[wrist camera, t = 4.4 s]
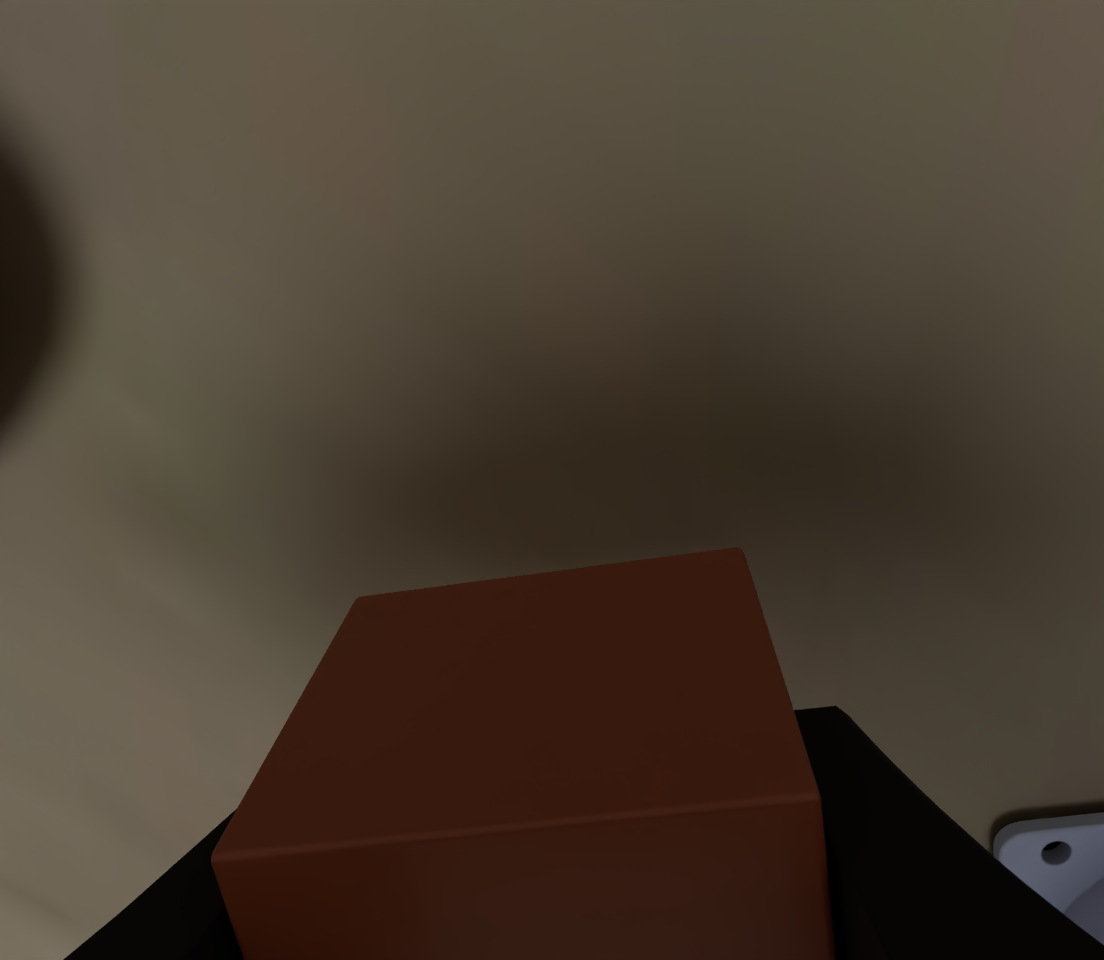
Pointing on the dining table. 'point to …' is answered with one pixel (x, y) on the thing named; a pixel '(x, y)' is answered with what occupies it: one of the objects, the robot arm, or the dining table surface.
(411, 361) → the dining table surface
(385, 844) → the terracotta block
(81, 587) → the dining table surface
